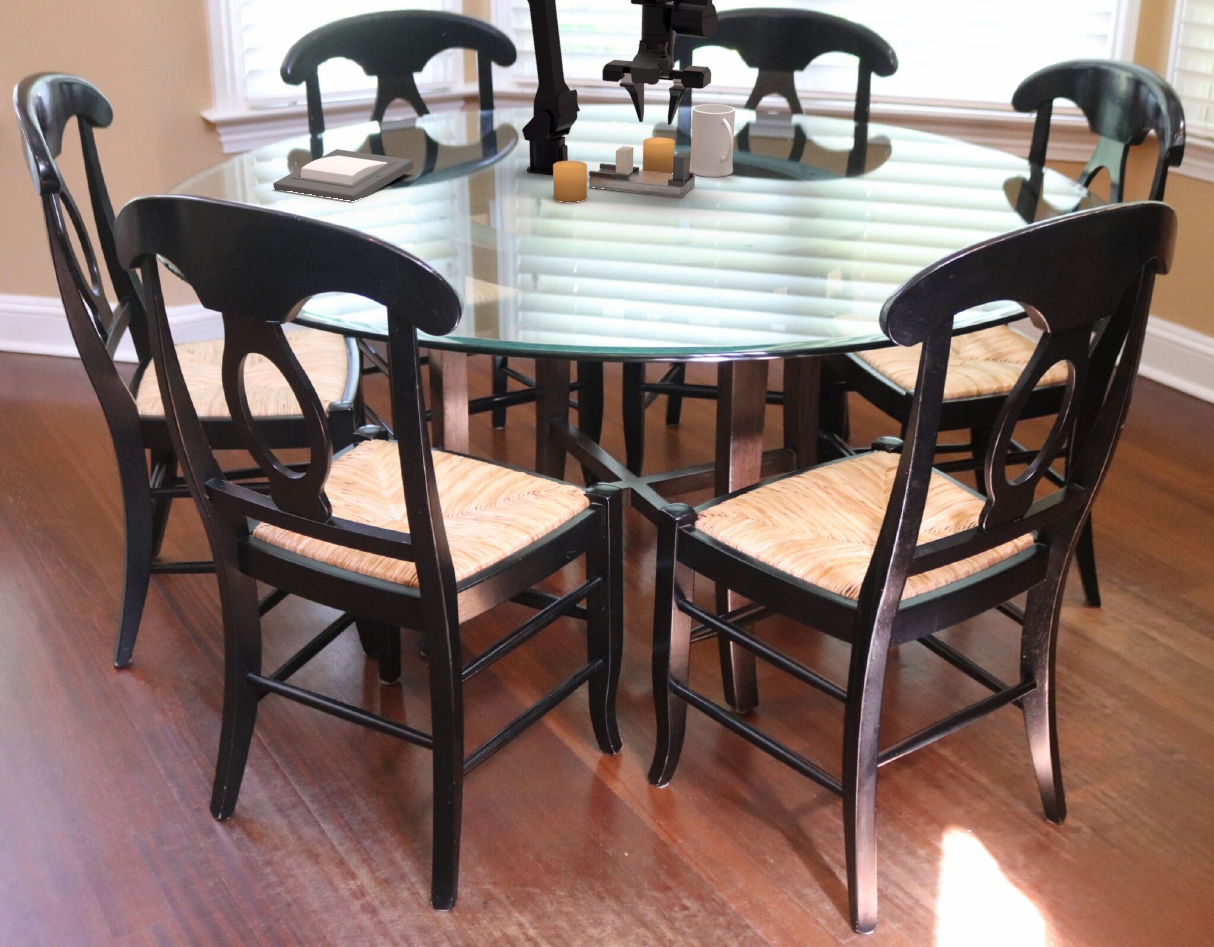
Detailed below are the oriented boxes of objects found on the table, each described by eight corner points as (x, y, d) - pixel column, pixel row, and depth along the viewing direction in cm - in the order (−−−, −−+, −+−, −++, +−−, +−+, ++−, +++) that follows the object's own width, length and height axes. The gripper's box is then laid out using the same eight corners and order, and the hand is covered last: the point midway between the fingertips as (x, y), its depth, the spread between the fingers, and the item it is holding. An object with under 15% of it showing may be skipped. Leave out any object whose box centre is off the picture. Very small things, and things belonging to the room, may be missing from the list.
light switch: (270, 174, 227) (335, 140, 242) (275, 199, 229) (338, 164, 244) (350, 186, 220) (412, 150, 235) (354, 212, 223) (415, 175, 238)
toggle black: (672, 181, 227) (673, 156, 224) (679, 175, 230) (679, 151, 228) (683, 182, 226) (683, 157, 224) (689, 176, 229) (690, 152, 227)
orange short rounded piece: (638, 174, 239) (639, 143, 236) (648, 167, 244) (648, 136, 241) (668, 178, 237) (669, 146, 234) (677, 170, 242) (678, 139, 239)
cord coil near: (548, 200, 224) (548, 167, 221) (561, 192, 229) (560, 159, 226) (579, 204, 222) (579, 171, 219) (591, 195, 227) (591, 162, 224)
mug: (747, 179, 236) (751, 115, 230) (705, 183, 234) (708, 119, 228) (722, 164, 246) (725, 102, 240) (682, 167, 243) (684, 105, 238)
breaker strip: (587, 188, 231) (587, 173, 229) (602, 176, 237) (602, 162, 236) (681, 198, 225) (682, 183, 224) (694, 186, 232) (695, 171, 231)
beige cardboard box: (615, 175, 230) (615, 151, 228) (622, 170, 233) (623, 145, 231) (625, 176, 229) (626, 152, 227) (632, 171, 233) (633, 146, 230)
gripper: (591, 36, 213) (591, 128, 221) (696, 44, 208) (692, 138, 215) (613, 26, 223) (612, 115, 230) (714, 33, 217) (709, 124, 225)
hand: (655, 123), depth 225 cm, fingers open, 5 cm apart
